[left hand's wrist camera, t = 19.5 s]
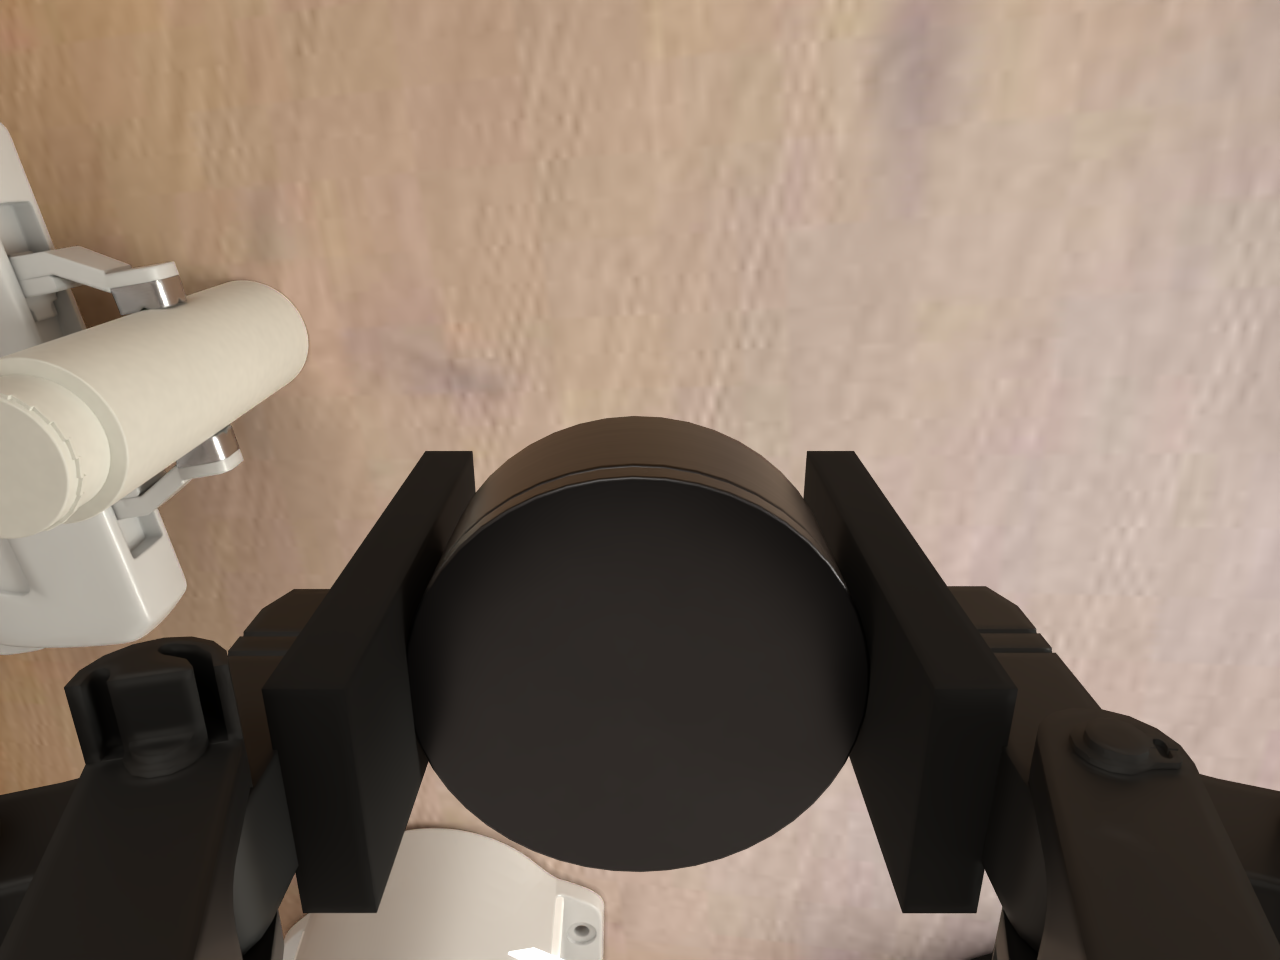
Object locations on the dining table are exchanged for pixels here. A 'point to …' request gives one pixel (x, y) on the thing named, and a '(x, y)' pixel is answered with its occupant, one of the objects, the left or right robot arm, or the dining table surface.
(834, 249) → the dining table surface
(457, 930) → the right robot arm
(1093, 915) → the left robot arm
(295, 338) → the cream bottle
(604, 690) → the lid
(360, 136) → the dining table surface
